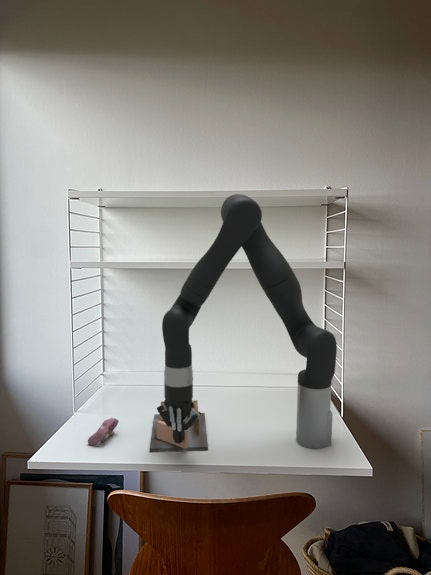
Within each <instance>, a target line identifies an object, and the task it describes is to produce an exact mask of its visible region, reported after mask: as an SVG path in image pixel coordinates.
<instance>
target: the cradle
mask: <svg viewBox="0 0 431 575" xmlns="http://www.w3.org/2000/svg"><path fill="white" fill-rule="evenodd" d="M164 401H165V400H163V401H160V405H162V404H164ZM192 402H193V405H194V409H195V410H196V411H197V412H199V405H198V404H199V403H198V400H192ZM190 415H191V412H190V413H189V415H188V416H187V420H186V423H187V422H188V421H189V420H190V419H191V418H190ZM155 419H159V420H160V421H163V422H164V420H163V419H162V417H161V415H160V414H159V413H158V414H157V413H156V414H154V416H153V420H152V421H153V422H152V427H151V435H150V436H151V437H150V443H149V453H159V452H161V453H163V452H165V453H166V452H186V451H188V452H191V451H193V452H194V451H209V444H208V443H209V442H208V441H209V440H208V431H207V424H206V422H207V421H206V413H205V412H201V416H200V417H199V418H198V419H197V420H196V421H195V423H194V424H193V425H192V426H191V427H190V428H188V429H187V430H188V448H186V449H184V448H182V447H179V446H176V445H174V444H171V443H168V442H166V441H163V440H160V439H158V438H154V420H155ZM168 420H169V419H168Z"/></svg>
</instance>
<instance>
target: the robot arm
mask: <svg viewBox="0 0 431 575" xmlns="http://www.w3.org/2000/svg"><path fill="white" fill-rule="evenodd" d="M262 212H263V211H262V209H261V207H260V205H259V203H258V202H256V200H254V199H252V198H251V197H249V196H248V195H245V194H240V193H237V194H231V195H229V196H227V197H226V198H225V200H224V201H223V203H222V205H221V209H220V216H221V220H222V225H221V227H220V229H219V232H218V234H217V236H216V238H215V239H214V241H213V243H212V244H211V246H210V247H209V248H208V250H207V251H206V252H205V253H204V254H203V255H202V257H201V258H200V259H199V260H198V262H197V263H196V264H195V265H194V267H193V268H192V270H191V271H190V273H189V274H188V276H187V278H186V280H185V281H184V283H183V284H182V287H181V290H180V293H179V295H178V296H177V298H176V300H175V302H174V303H173V305H172V306H171V307H170V308H169V310H168V311H166V312H165V314H164V316H163V318H162V325H161V332H162V338H163V344H164V350H165V351H164V364H165V365H164V370H163V371H164V372H163V373H164V374H163V376H164V377H163V382H164V384H163V385H164V390H163V391H164V392H163V394H164V400H163V401H164V404H162V405H161V404H160V405H159V406H157V407H156V410H157V412H158V414H160V415H161V417H162V419H163V420H164V422H165V423H166V425H167V426H168V427H169V426H170V427H172V429H173V440H174V442H175V443H178V444H180V443H181V442H183V440H184V439H185V431H186V430H187V429H188V428H190V427H191V426H192V425H193V424H194V423H195V421H196V420H197V419H198V418H199V417H200V416H201V413H202V412H200V411H198V412H197V411H196V410H195V409H194V405H193V402H192V401H193V397H194V395H193V394H194V389H193V388H194V383H193V382H194V376H193V374H194V371H193V364H192V363H193V360H192V359H193V356H192V355H193V352H192V345H191V344H190V328H191V326H192V325H193V323H194V321H195V319H196V318H197V316H198V314H199V312H200V310H201V307H202V306H203V304H205V302H206V301H207V299H208V298H209V296H210V294H211V293H212V292H213V290H214V288H215V286H216V284H217V283H218V281H219V280H220V278H221V276H222V274H223V273H224V272H225V270H226V268H227V267H228V265H229V264H230V262H231V261H232V260H233V259H234V257H235V256H236V255H237V254H238V252H239V251H240V249H241V248H242V250H243V251H244V253H245V255H246V258H247V260H248V263H249V264H250V266H251V269H252V271H253V273H254V275H255V277H256V279H257V282H258V283H259V285H260V287H261V288H262V290H263V292H264V294H265V295H266V297H267V299H268V300H269V301H270V303H271V305H272V307H273V308H274V310H275V312H276V313H277V314H278V316H279V318H280V319H281V321H282V323H283V324H284V327H285V329H286V331H287V333H288V337H290V340H291V343H292V346H293V347H294V349H295V350H296V352H297V353H298V354H299V355H300V356H302V357H304V358H306V363H305V364H306V365H305V369H302V370H300V371H299V372H298V374H297V392H296V394H297V395H296V396H297V398H296V400H297V401H296V402H297V403H296V432H295V434H296V436H295V439H296V440H295V441H296V442H297V444H298V445H301V447H302V446H303V447H305V448H309V449H322V448H326V447H328V446H331V445H332V439H333V438H332V436H333V411H332V410H331V402H332V401H331V400H332V380H333V378H334V375H335V373H336V372H335V371H336V364H337V363H336V362H337V355H338V354H337V352H338V351H337V350H338V349H337V348H338V344H337V339H336V336H334V334H333V333H332V332H331V331H329V330H326V329H324V328H322V327H319V326H317V325H316V324H315V323H314V322H313V321H312V319H311V317H310V316H309V314H308V313H307V311H306V309H305V306H304V304H303V294H302V293H303V292H302V288H301V284H300V281H299V279H298V278H297V276H296V274H295V273H294V272H295V271H293V269H292V267H291V265H290V263H289V262H288V261H287V259H286V258H285V256H284V255H283V254H282V252H281V251H280V250H279V249H278V247H277V246H276V245H275V243H274V242H273V241H272V240H271V238H270V237H269V236H268V234H267V231H266V230H265V227H264V225H263V223H262V217H263V216H262V215H263V214H262ZM190 412H191V415H190V418H191V419H190V420H189V421H188V422H187V423H186V420H187V416H188V415H189V413H190ZM168 419H169V420H168Z"/></svg>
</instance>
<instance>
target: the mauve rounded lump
mask: <svg viewBox="0 0 431 575" xmlns="http://www.w3.org/2000/svg"><path fill="white" fill-rule="evenodd" d="M118 424H119V420H118V419H117V418H114V417H112V416H111V417H110V418H108V419H106V420H104V421H103V422H102V423H101V425H100V426H99V428H98V429H97V431H96V432H94V433H93V434H91V436H90V437H88V439H87V444H88V445H89V446H94V445H98V444H99V443H100V442H102V443H104V442H105V441H106V439H107V438H109V437H110V436H111V435H112V434H113V432H114V431H115V429H116V428H117V426H118Z"/></svg>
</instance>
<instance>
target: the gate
mask: <svg viewBox="0 0 431 575" xmlns="http://www.w3.org/2000/svg"><path fill="white" fill-rule="evenodd" d="M153 421H154V438H158V439H160V440H163V441H166V442H168V443H171V444H174V445H176V446H179V447H182V448H184V449H186V448H188V430H186V431H185V439H184V440H183V442H181V443H180V444H178V443H175V442H174V440H173V429H172V427H170V426H169V427H168V426H167V425H166V423H165V422H163V421H160V420H159V419H155V420H154V419H153Z"/></svg>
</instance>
